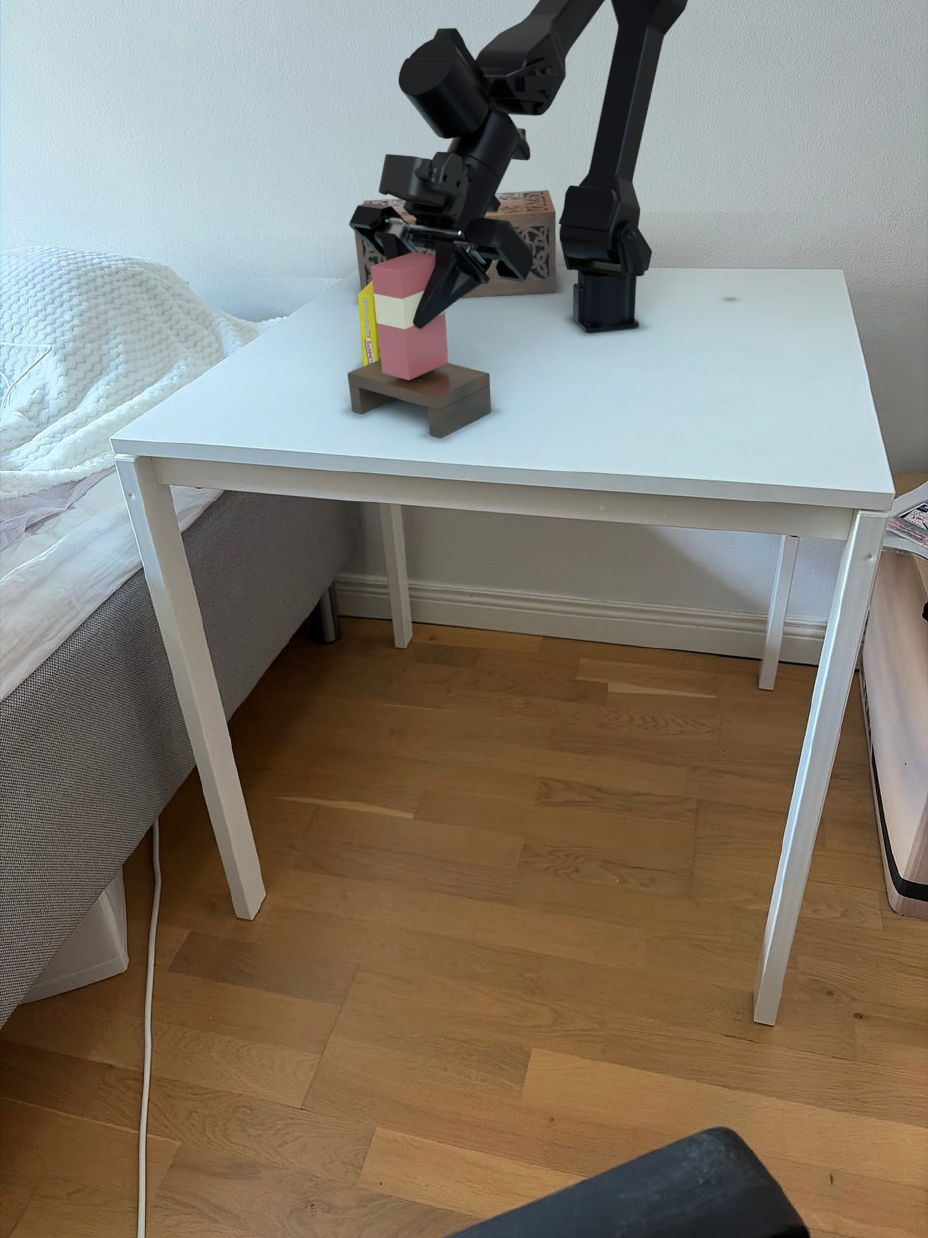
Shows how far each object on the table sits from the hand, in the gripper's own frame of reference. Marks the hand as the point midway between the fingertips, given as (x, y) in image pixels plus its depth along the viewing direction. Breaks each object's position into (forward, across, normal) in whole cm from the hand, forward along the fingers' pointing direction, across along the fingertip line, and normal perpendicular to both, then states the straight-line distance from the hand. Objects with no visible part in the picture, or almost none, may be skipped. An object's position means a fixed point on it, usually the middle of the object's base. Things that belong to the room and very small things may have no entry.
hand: (400, 322), depth 89 cm
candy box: (-3, -17, +17) cm, 24 cm away
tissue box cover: (-21, -27, +34) cm, 49 cm away
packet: (+2, 0, +4) cm, 5 cm away
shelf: (+6, 0, +8) cm, 9 cm away
